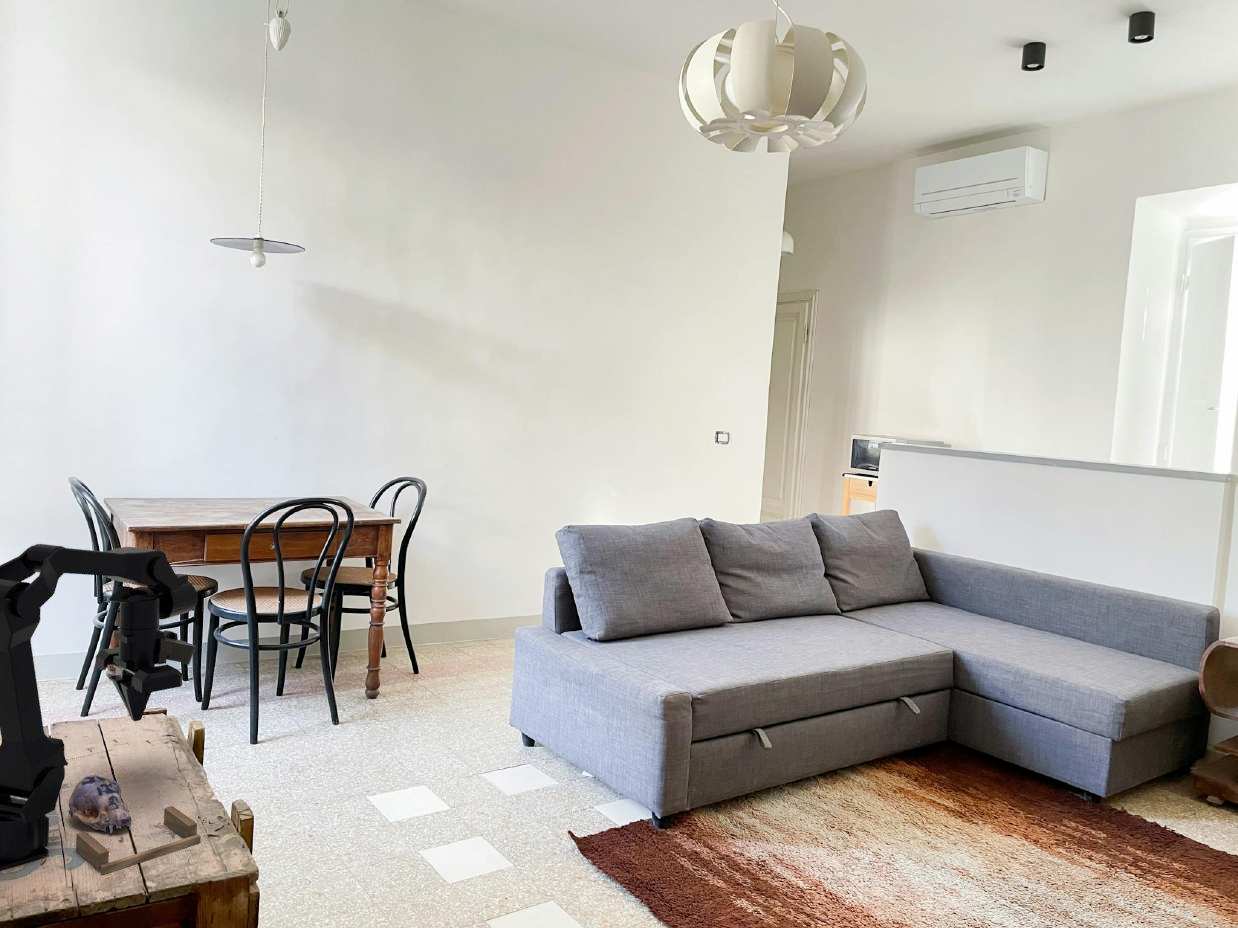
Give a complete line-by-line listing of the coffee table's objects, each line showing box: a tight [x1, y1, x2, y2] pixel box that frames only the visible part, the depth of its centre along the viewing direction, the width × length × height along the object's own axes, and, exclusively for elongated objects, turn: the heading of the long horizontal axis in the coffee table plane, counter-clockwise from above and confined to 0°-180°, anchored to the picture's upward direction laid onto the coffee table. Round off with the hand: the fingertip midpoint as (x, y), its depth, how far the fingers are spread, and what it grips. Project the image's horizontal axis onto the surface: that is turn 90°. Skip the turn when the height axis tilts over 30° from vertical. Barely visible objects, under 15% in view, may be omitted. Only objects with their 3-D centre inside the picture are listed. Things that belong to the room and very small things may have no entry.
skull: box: [68, 774, 133, 834], centre depth 138 cm, size 12×8×6 cm, turn 48°
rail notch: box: [75, 805, 201, 876], centre depth 132 cm, size 13×9×2 cm
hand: (136, 720), depth 149 cm, fingers closed
